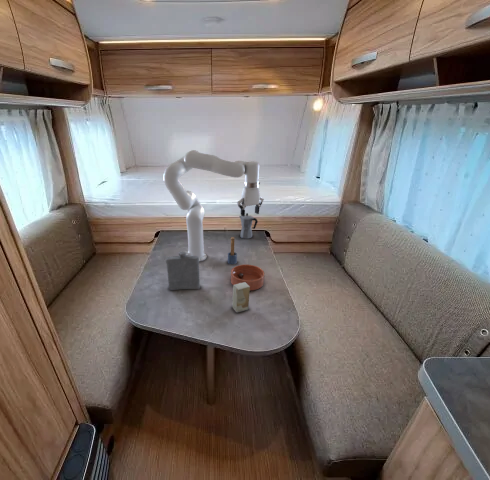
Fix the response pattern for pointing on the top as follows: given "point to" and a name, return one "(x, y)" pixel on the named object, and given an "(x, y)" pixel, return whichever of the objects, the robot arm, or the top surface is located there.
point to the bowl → (248, 276)
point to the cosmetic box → (241, 296)
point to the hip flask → (183, 272)
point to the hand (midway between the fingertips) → (249, 214)
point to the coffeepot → (247, 226)
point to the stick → (232, 246)
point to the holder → (232, 258)
